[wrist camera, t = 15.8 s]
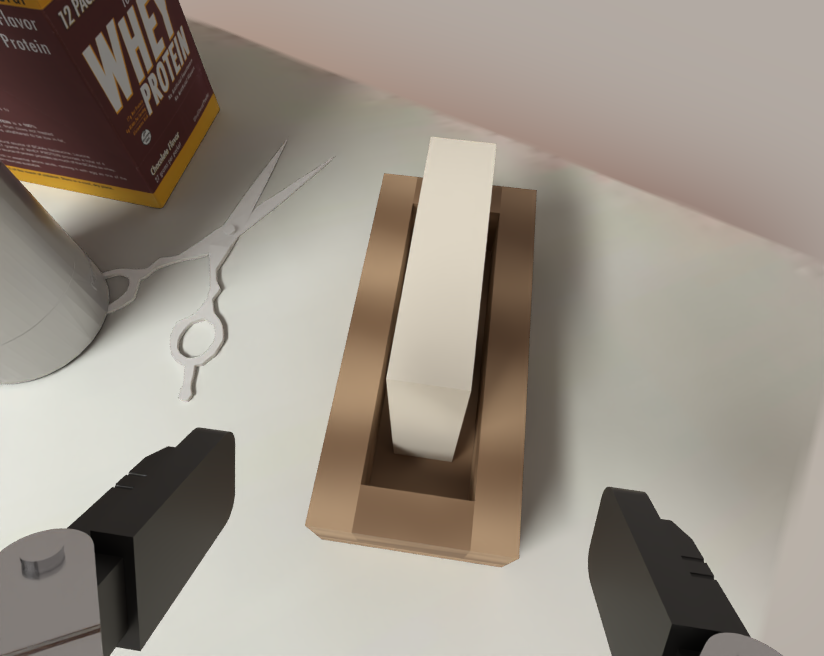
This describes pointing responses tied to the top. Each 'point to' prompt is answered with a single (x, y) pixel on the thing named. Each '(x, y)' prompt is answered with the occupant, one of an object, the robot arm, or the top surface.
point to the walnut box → (483, 421)
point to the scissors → (217, 250)
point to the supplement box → (101, 96)
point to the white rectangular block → (441, 300)
